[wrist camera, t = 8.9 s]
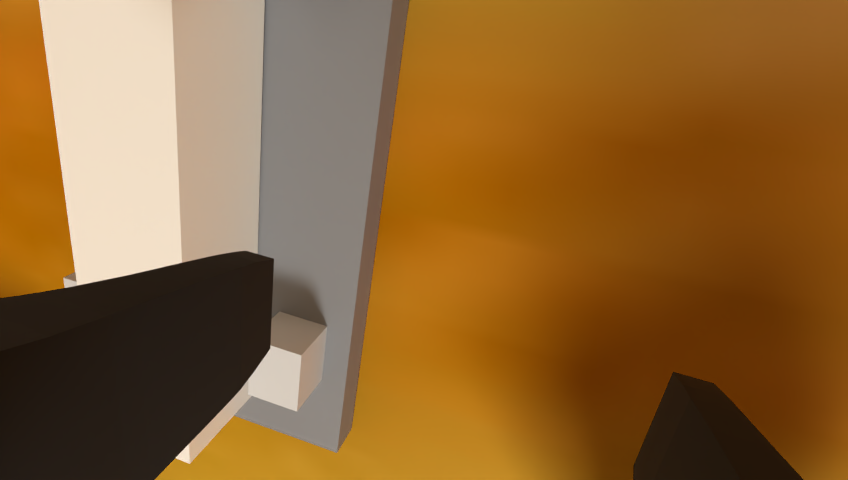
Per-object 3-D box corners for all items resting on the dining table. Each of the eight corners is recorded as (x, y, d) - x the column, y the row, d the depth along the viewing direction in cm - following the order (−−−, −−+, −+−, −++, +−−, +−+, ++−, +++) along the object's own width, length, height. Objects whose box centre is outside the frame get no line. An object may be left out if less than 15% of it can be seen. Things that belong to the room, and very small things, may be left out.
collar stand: (351, 428, 23) (314, 489, 20) (125, 349, 26) (61, 393, 23) (445, -270, 14) (403, -358, 11) (68, -295, 16) (-58, -374, 13)
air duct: (255, 393, 22) (190, 465, 19) (172, 364, 23) (93, 428, 19) (274, -240, 14) (159, -338, 10) (140, -252, 14) (-12, -346, 11)
